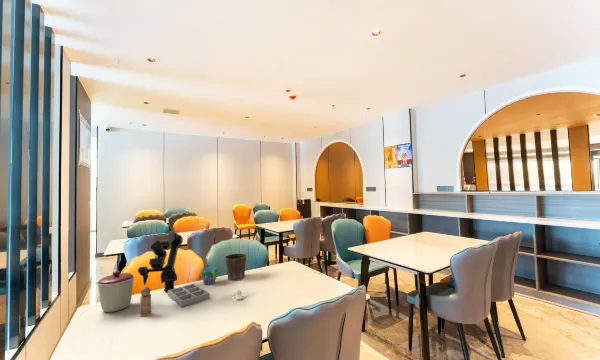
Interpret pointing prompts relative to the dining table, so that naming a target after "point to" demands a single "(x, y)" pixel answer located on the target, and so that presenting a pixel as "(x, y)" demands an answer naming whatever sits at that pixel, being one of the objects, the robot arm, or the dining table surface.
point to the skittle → (145, 302)
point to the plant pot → (235, 266)
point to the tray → (188, 295)
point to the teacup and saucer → (238, 295)
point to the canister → (115, 291)
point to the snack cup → (209, 275)
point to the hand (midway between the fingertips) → (153, 284)
